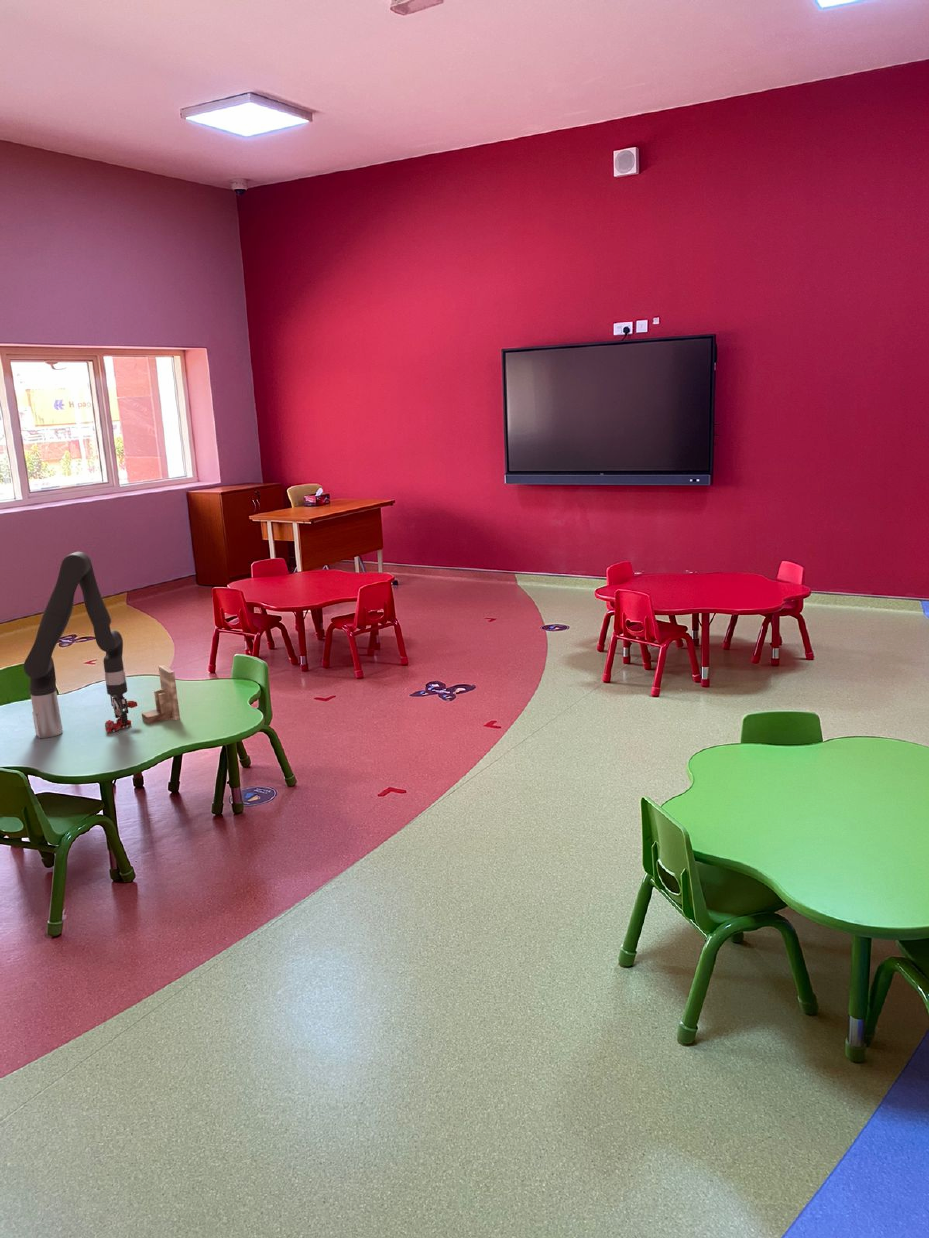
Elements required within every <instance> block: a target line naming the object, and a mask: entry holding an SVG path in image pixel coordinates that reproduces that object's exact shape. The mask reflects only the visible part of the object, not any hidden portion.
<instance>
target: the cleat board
mask: <svg viewBox="0 0 929 1238" xmlns="http://www.w3.org/2000/svg"><path fill="white" fill-rule="evenodd" d="M157 666H158V673H159V680H160V683H159V684H160V689H157V690H153V693H154V702H155V707H156V709H152V710H148V711H143V712H141V718H142V721H143V722H144V723H146V724H147V725H152V724H155V723H159V722H163V721H168V720H175V721H178V720H181V715H180V708H179V707H180V706H179V698H178V691H177V684H176V676H175V671H173V670H172V669H170V668H169V667H167V666H166V665H164V664H161V665H157Z"/></svg>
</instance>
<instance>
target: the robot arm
mask: <svg viewBox="0 0 929 1238" xmlns="http://www.w3.org/2000/svg"><path fill="white" fill-rule="evenodd" d="M55 583H56V584H55V586H54V588H53V590H52V593H51V594H50V597H49V600H48V602H47V604H46V607H45V608H44V611H43V615H42V617H41V619H40V623H39V626H38V629H37V633H36V637H35V640H34V642H33V645H32V647H31V649H30V651H29V653H28V655H27V657H26V658H25V660H24V661H23V671H24V674H25V675H26V676H27V677H28V678H30V683H29V693H30V694H29V695H30V700H31V706H32V713H31V714H32V718H33V719H32V720H33V723H34V729H35V735H36V736H37V737H38V739H44V738H45V739H46V738H47V739H48V738H53V737H56V736H59V735H60V734H62V733H63V732H64V731H63V723H62V719H61V713H60V712H61V710H60V705H59V699H58V693H57V688H56V685H57V681H56V680H57V678H56V677H57V676H56V668H55V663H54V659H53V657H52V656H53V653H54V650H55V648H56V646H57V644H58V643H59V640H60V639H61V638H62V636H63V634H64V632H65V630H66V629H67V626H68V624H69V621H70V619H71V616H72V612H73V609H74V603H75V602H74V601H75V600H74V599H75V593H76V591H77V588H78V586H80V590H81V592H82V596H83V598H82V599H83V602H84V607H85V611H86V613H87V615H88V618H89V620H90V623H91V625H92V627H93V628H92V629H93V633H94V638H95V643H96V644H97V645H96V646H97V647H98V648H99V649H100V650H101V651H102V652H105V656H104V658H103V662H102V663H103V667H104V668H103V670H104V680H105V686H106V694H107V695H109V696H110V704H111V706H112V709H113V710H114V711H115V710H116V709H118V710H119V711H120V714H121V722H122V723H123V724H125V723H128V720H129V719H128V714H129V712H130V711H129V707H128V706H127V701H128V700H127V698H125V696H124V694H125V693H126V694H127V692H128V684H127V678H126V671H125V668H124V661H123V653H124V641H123V637H122V634H121V633H120V632H119V631H117V630H115V629H111V626H110V625H111V623H112V618H111V616H110V613H109V611H108V609H107V606H106V604H105V602H104V599H103V597H102V594H101V592H100V589H99V587H98V586H99V585H98V583H97V580H96V576H95V572H94V567H93V564H92V560H91V558H90V556H89V555H88V554H87V553H85V552H83V551H75V552H72V553H69V554H67V555H66V556H65V557H64V558H63V559H62V561H61V563H60V567H59V572H58V576H57V580H56V582H55ZM114 711H113V712H114ZM114 718H116V719H119V718H120V717H119V716H118V715H117V714H115V713H114Z"/></svg>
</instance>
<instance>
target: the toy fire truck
mask: <svg viewBox="0 0 929 1238" xmlns="http://www.w3.org/2000/svg"><path fill="white" fill-rule="evenodd" d="M127 706H128V709H133V708H136V707H138V702H137V701H134V700H127ZM113 714H114V715H115V714H117V715H118V716H119V718H116V722H115V721H114V720H111V719H107V720H106V721H105V723H104V727H105V728H104V729H105V733H110V734H111V733H116V731H119V730H124V729H125V728H129V727H130V726H132V720H130V719H128V723H125V724H123V723H122V722H121V714H120V711H119V710H118V709H116V710H115V711H113Z"/></svg>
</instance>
